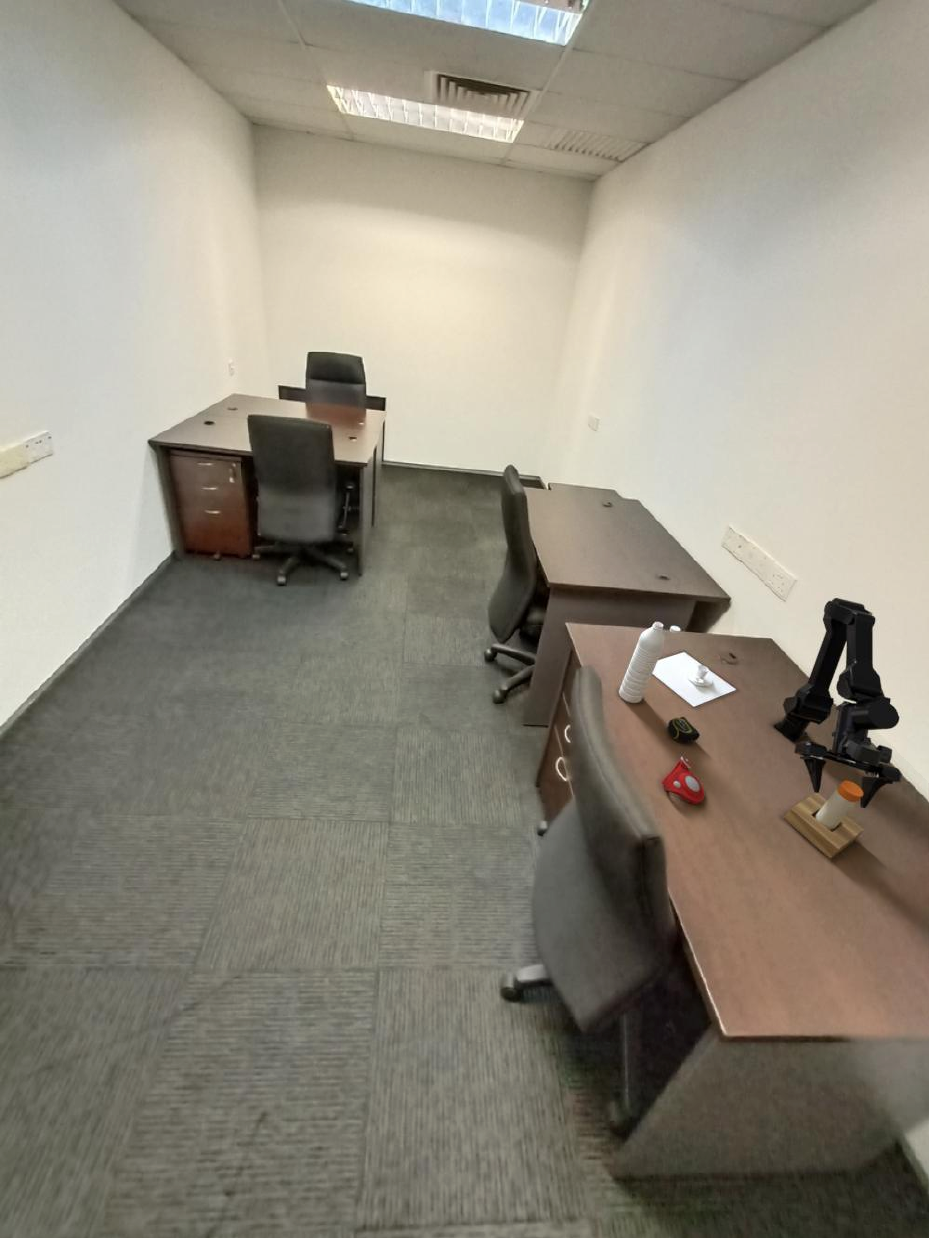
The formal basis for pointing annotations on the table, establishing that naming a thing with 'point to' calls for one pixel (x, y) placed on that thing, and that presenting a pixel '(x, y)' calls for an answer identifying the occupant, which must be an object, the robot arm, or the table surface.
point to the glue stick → (839, 804)
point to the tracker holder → (684, 783)
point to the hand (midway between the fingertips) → (839, 800)
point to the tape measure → (682, 730)
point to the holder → (822, 826)
